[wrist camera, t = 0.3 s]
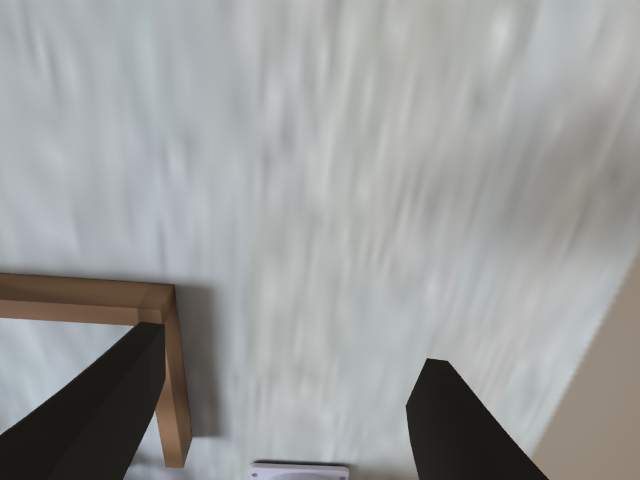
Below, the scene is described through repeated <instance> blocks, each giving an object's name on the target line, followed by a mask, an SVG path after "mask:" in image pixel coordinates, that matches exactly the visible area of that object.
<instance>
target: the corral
mask: <svg viewBox="0 0 640 480" xmlns="http://www.w3.org/2000/svg"><path fill="white" fill-rule="evenodd" d="M0 318H13V319H30V320H46V321H63V322H80V323H96V324H113V325H129V326H135V325H136V324H138V323H139V322H141V321H142V322H150V323H157V324H165V356H166V380H165V383H164V385H163V388H162V391H161V394H160V397H159V400H158V403H157V406H156V408H155V412H156V417H157V422H158V428H159V433H160V439H161V444H162V449H163V455H164V460H165V465H166V467H171V468H183V467H184V464H185V461H186V457H187V454H188V451H189V448H190V444H191V441H192V431H191V422H190V414H189V406H188V397H187V389H186V380H185V372H184V364H183V355H182V347H181V338H180V330H179V322H178V313H177V305H176V296H175V288H174V285H170V284H155V283H140V282H125V281H110V280H95V279H80V278H65V277H50V276H35V275H20V274H5V273H0Z"/></svg>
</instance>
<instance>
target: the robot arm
mask: <svg viewBox="0 0 640 480" xmlns="http://www.w3.org/2000/svg"><path fill="white" fill-rule="evenodd" d="M165 380H166V356H165V324H157V323H150V322H142V321H141V322H139V323H138V324H136V325H135V326H134V327H133V328H132V329H131V330H130V331H129V332H128V333H126V334H125V335H124V336H123V337H122V338H121V339H120V340H119V341H118V342H116V343H115V344H114V345H113V346H112V347H111V348H110V349H109V350H107V351H106V352H105V353H104V354H103V355H102V356H101V357H99V358H98V359H97V360H96V361H95V362H94V363H92V364H91V365H90V366H89V367H88V368H86V369H85V370H84V371H83V372H82V373H80V374H79V375H78V376H77V377H76V378H74V379H73V380H72V381H71V382H70V383H68V384H67V385H66V386H65V387H63V388H62V389H61V390H60V391H58V392H57V393H56V394H54V395H53V396H52V397H51V398H49V399H48V400H47V401H45V402H44V403H43V404H41V405H40V406H39V407H38V408H36V409H35V410H34V411H32V412H31V413H30V414H28V415H27V416H26V417H24V418H23V419H22V420H20V421H19V422H18V423H16V424H15V425H13V426H12V427H11V428H9V429H8V430H7V431H5V432H4V433H2V434H1V435H0V480H123V478H124V476H125V474H126V471H127V469H128V467H129V465H130V463H131V461H132V459H133V457H134V455H135V453H136V451H137V449H138V446H139V444H140V442H141V440H142V438H143V436H144V434H145V432H146V430H147V427H148V425H149V423H150V421H151V419H152V417H153V414H154V411H155V408H156V406H157V403H158V400H159V397H160V394H161V391H162V388H163V385H164V383H165ZM406 413H407V421H408V429H409V436H410V443H411V447H412V452H413V456H414V460H415V464H416V468H417V472H418V476H419V480H549V479H548V478H547V477H546V476H545V475H544V474H543V473H542V472H541V471H540V470H539V469H538V467H537V466H536V465H535V464H534V463H533V462H532V461H531V460H530V458H529V457H528V456H527V455H526V454H525V453H524V452H523V451H522V450H521V449H520V447H519V446H518V445H517V444H516V443H515V442H514V441H513V439H512V438H511V437H510V436H509V435H508V434H507V432H506V431H505V430H504V429H503V428H502V427H501V425H500V424H499V423H498V422H497V421H496V419H495V418H494V417H493V416H492V415H491V413H490V412H489V411H488V410H487V408H486V407H485V406H484V405H483V404H482V402H481V401H480V400H479V399H478V397H477V396H476V395H475V394H474V392H473V391H472V390H471V389H470V387H469V386H468V385H467V384H466V383H465V381H464V380H463V379H462V378H461V376H460V375H459V374H458V373H457V371H456V370H455V369H454V368H453V367H452V365H451V364H450V363H449V362H448V361H445V360H437V359H429V358H427V360H426V362H425V364H424V366H423V368H422V371H421V373H420V375H419V377H418V380H417V382H416V384H415V386H414V389H413V391H412V393H411V395H410V397H409V400H408V402H407V404H406ZM348 479H349V469H348V468H347V467H339V466H315V465H290V464H266V463H253V464H251V465H250V466H249V480H348Z"/></svg>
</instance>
